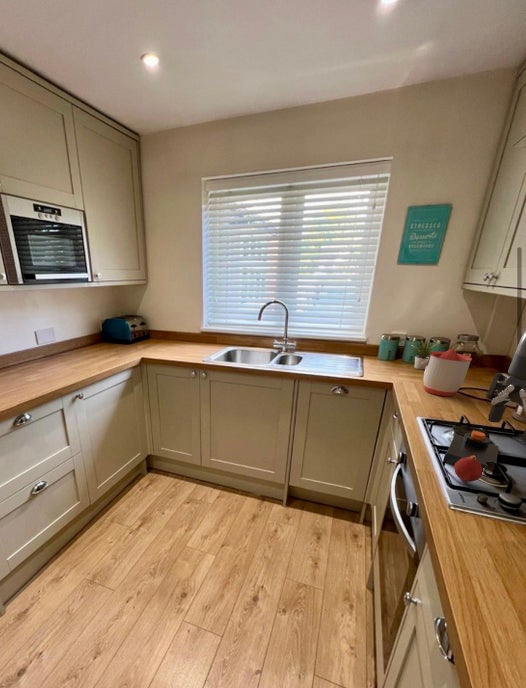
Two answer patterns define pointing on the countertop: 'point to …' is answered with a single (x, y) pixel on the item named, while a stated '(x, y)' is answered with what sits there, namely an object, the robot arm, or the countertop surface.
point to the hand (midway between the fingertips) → (509, 430)
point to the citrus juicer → (445, 372)
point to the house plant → (423, 354)
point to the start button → (477, 435)
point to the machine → (471, 450)
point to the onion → (468, 469)
